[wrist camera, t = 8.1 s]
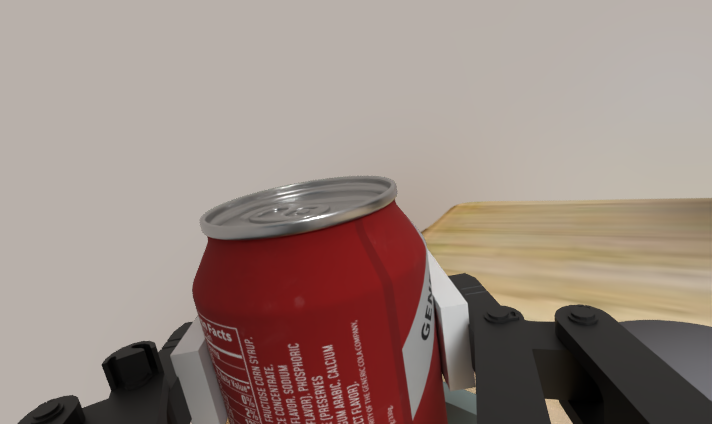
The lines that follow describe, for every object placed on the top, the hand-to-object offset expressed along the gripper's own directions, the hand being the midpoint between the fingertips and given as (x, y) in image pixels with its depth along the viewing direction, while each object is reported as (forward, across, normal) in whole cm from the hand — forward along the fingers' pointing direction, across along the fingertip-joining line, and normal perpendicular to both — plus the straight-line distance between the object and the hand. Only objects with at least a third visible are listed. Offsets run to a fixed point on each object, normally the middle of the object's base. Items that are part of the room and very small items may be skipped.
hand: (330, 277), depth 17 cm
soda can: (-5, 0, -7) cm, 9 cm away
